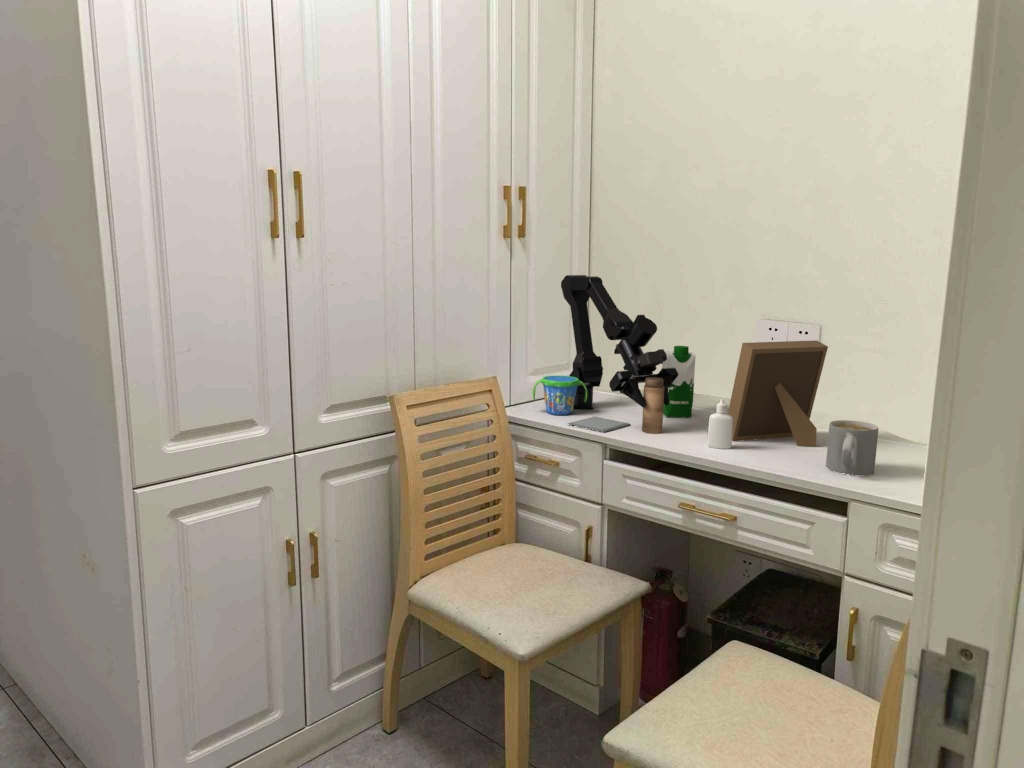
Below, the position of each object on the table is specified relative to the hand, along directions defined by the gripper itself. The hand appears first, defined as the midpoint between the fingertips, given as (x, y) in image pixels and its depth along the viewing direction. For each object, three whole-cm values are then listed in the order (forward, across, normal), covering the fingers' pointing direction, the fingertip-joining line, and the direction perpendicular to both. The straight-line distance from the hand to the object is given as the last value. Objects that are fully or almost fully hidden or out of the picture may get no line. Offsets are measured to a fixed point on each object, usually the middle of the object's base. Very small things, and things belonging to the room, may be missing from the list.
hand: (656, 405), depth 209 cm
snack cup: (-16, -12, +27) cm, 33 cm away
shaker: (+4, 0, +6) cm, 7 cm away
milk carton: (-6, +18, +16) cm, 25 cm away
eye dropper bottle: (+18, +6, -8) cm, 21 cm away
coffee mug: (+38, +18, -27) cm, 50 cm away
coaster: (-4, -9, +14) cm, 17 cm away
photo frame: (+19, +23, -9) cm, 31 cm away
